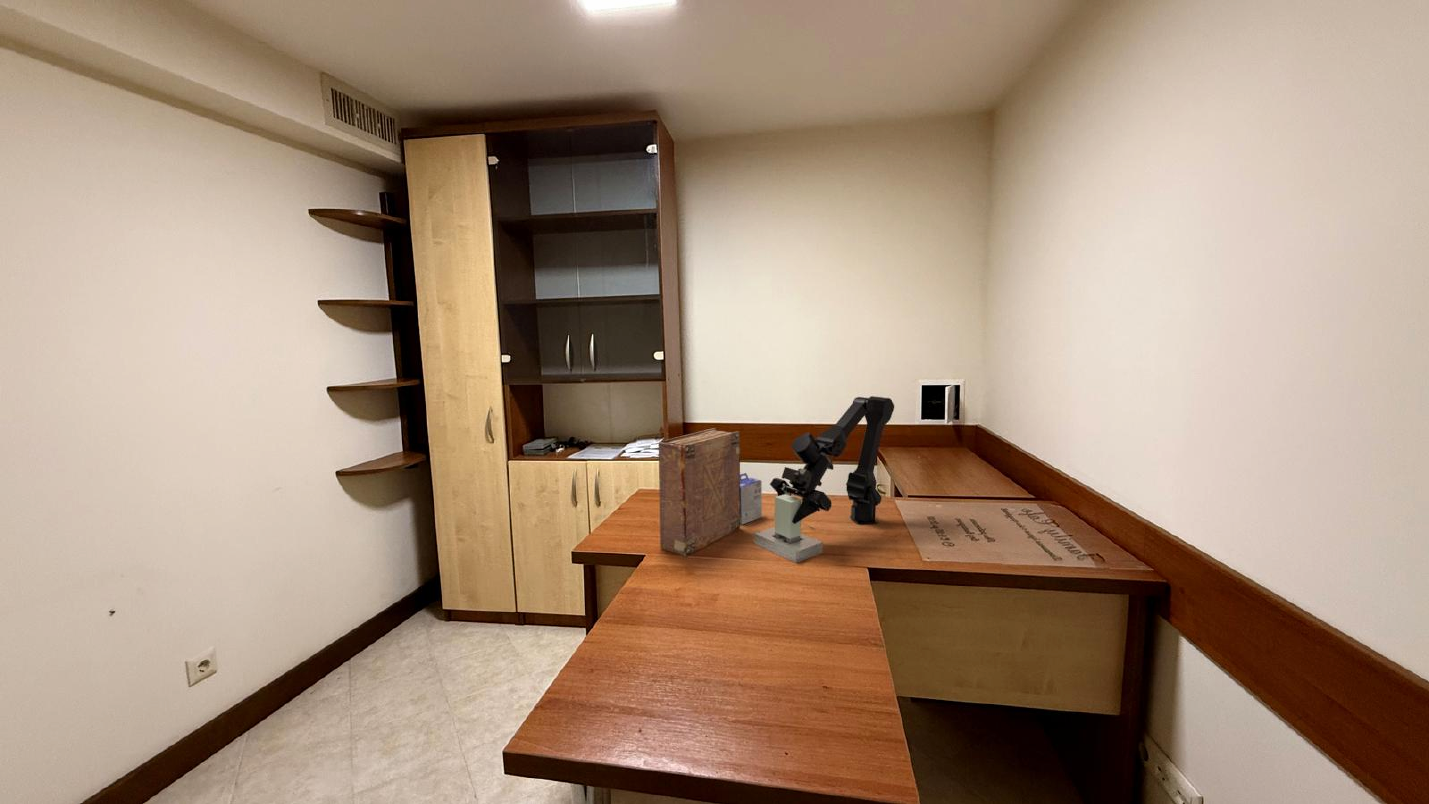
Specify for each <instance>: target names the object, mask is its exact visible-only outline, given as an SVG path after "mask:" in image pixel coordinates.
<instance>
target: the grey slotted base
mask: <svg viewBox="0 0 1429 804" xmlns="http://www.w3.org/2000/svg"><path fill="white" fill-rule="evenodd" d="M753 535H754V536H753V543H754V544H755V545H757V546H759V547H761V548H763V549H765V550H768V551H769V552H772V553H774V554H776V555H778V556H780V557H782V558H785V559H787V560H788V561H791V562H793V563H796V564H797V563H799V562H802V561H806V560H808V559H810V558H812V557H815V556H817V555H820V554H822V553H823V541H821V540H817V539H816V538H813V537H810V536H809V535H805V534H803V533H801V535H800V541H798V542H795V543H792V544H788V543H786V537H783V538H780V539H777V538H775V526H772V527H769V528H767V529H763V530H759V531H757V532H754V534H753Z"/></svg>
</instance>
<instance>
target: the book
mask: <svg viewBox="0 0 1429 804" xmlns="http://www.w3.org/2000/svg"><path fill="white" fill-rule="evenodd" d="M740 474H741V433H740V431H733V432H729V431H724V430H723V431H722V430H717V428H716V427H713V428H708V429H705V430H701V431H697V432H693V433H689V434H685V435H681V436H677V437H672V438H669V439H666V440H660V441H659V442H658V476H659V477H658V479H659V480H658V481H659V485H658V486H659V487H658V488H659V526H660V527H659V531H660V532H659V533H660V537H659V539H660V543H659V544H660V549H662V550H663V551H664V550H665V551H668V552H670V553H674V554H677V555H680V556H683V557H686V558H687V557H688V556H690V555H692V554H694V553H696V552H698V551H700V550H702V549H704V548H706V547H707V546H710V545H712V544H713V543H715V542H718V541H720V540H722V539H724V538H725V537H727V536H728V535H732V534H733V533H735V532H737V531H739V530H741V525H740Z"/></svg>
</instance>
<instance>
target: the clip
mask: <svg viewBox="0 0 1429 804" xmlns="http://www.w3.org/2000/svg"><path fill="white" fill-rule="evenodd" d="M801 504H802V498H799V497H798V498H797V497H795V496H792V495H791V496H789V495H786V494H785V495H781V496H778V495H777V496H775V497H774V527H775V538H777V539H780V538H783V537H786V543H788V544H792V543H795V542H798V541H800V535H801V534H802V528H801V527H802V520H800V521H799V522H797V523H796V524H794V523H793V522H792V521H793V518H794V516H795V514H796V513H797V511H798V509H799V508H800V506H801Z"/></svg>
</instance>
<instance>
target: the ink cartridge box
mask: <svg viewBox="0 0 1429 804" xmlns="http://www.w3.org/2000/svg"><path fill="white" fill-rule="evenodd" d="M742 477H744V478H742ZM762 484H763V483H762V480H761V479H758V478H757V479H756V478H753V477H749V476H748V473H746V472H745V473H740V526H741V525H744V524H748V523H749V522H753V521H755V520H759V519H761V518H762V517H763V510H762V509H763V497H762V496H763V495H762V492H763V491H762V489H763V488H762Z"/></svg>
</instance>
